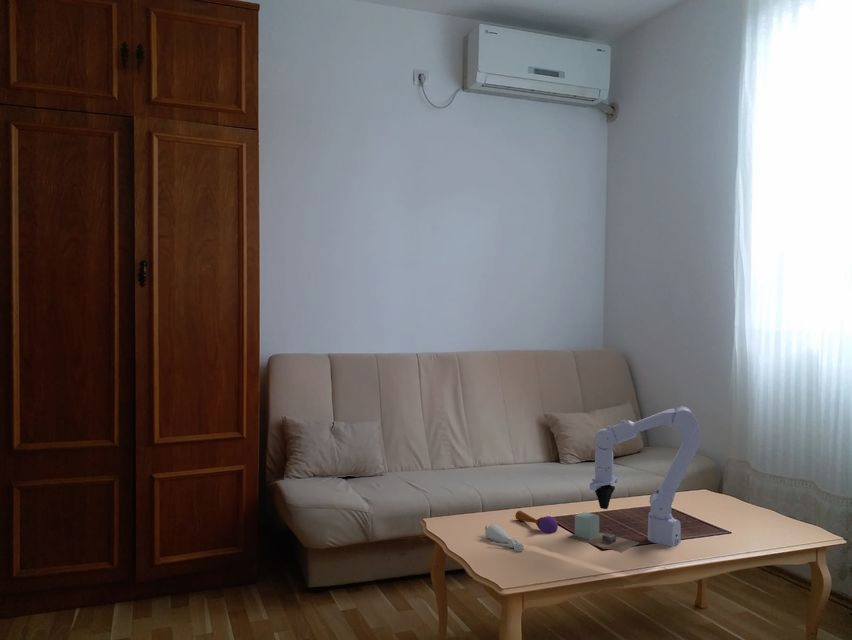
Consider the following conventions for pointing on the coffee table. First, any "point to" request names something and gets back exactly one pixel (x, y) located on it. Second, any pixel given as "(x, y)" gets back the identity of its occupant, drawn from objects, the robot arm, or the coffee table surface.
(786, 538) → the coffee table surface
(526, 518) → the purple and brown maraca
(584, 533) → the frosted mint cube
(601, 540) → the board
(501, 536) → the woman figurine
